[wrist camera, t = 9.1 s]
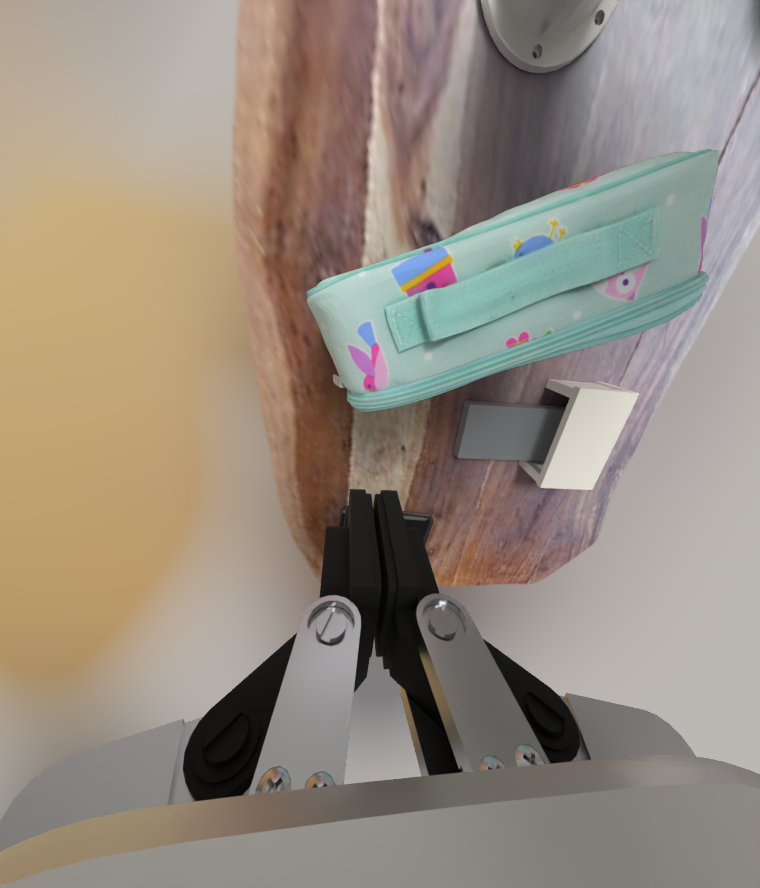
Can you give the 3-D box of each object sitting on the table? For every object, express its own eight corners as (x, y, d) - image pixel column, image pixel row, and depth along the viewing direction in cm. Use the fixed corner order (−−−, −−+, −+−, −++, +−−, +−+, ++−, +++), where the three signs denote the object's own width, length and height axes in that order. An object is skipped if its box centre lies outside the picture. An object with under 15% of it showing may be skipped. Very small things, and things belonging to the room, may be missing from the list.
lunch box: (345, 384, 38) (343, 470, 18) (310, 300, 33) (260, 297, 14) (547, 308, 36) (775, 315, 17) (540, 209, 32) (840, 64, 12)
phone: (343, 507, 45) (435, 517, 48) (343, 503, 46) (433, 513, 49) (335, 546, 48) (422, 553, 51) (335, 541, 49) (420, 548, 52)
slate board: (463, 399, 41) (470, 404, 39) (568, 405, 43) (580, 411, 41) (452, 450, 44) (457, 458, 42) (550, 454, 46) (560, 461, 44)
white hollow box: (549, 376, 40) (580, 388, 35) (601, 381, 41) (639, 393, 36) (517, 466, 46) (540, 487, 40) (563, 468, 47) (592, 489, 42)
